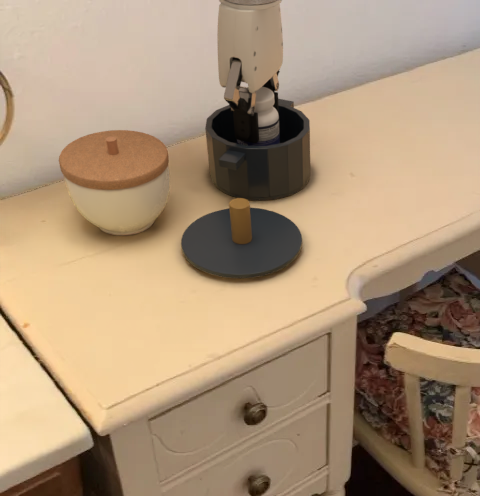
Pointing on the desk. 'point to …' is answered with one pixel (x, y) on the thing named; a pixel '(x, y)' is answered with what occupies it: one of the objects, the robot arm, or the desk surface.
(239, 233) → the pan lid
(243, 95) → the pill bottle
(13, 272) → the desk surface
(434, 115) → the desk surface
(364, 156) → the desk surface
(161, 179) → the lidded bowl
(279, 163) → the pan
